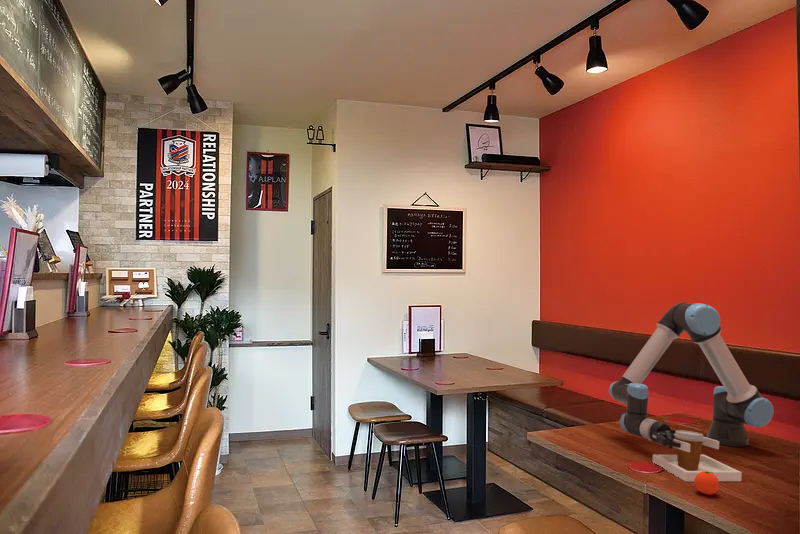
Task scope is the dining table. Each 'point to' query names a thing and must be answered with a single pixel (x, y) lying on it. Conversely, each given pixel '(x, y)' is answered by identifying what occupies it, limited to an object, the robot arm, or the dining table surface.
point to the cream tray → (705, 464)
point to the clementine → (707, 482)
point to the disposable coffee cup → (693, 457)
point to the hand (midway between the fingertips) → (704, 446)
